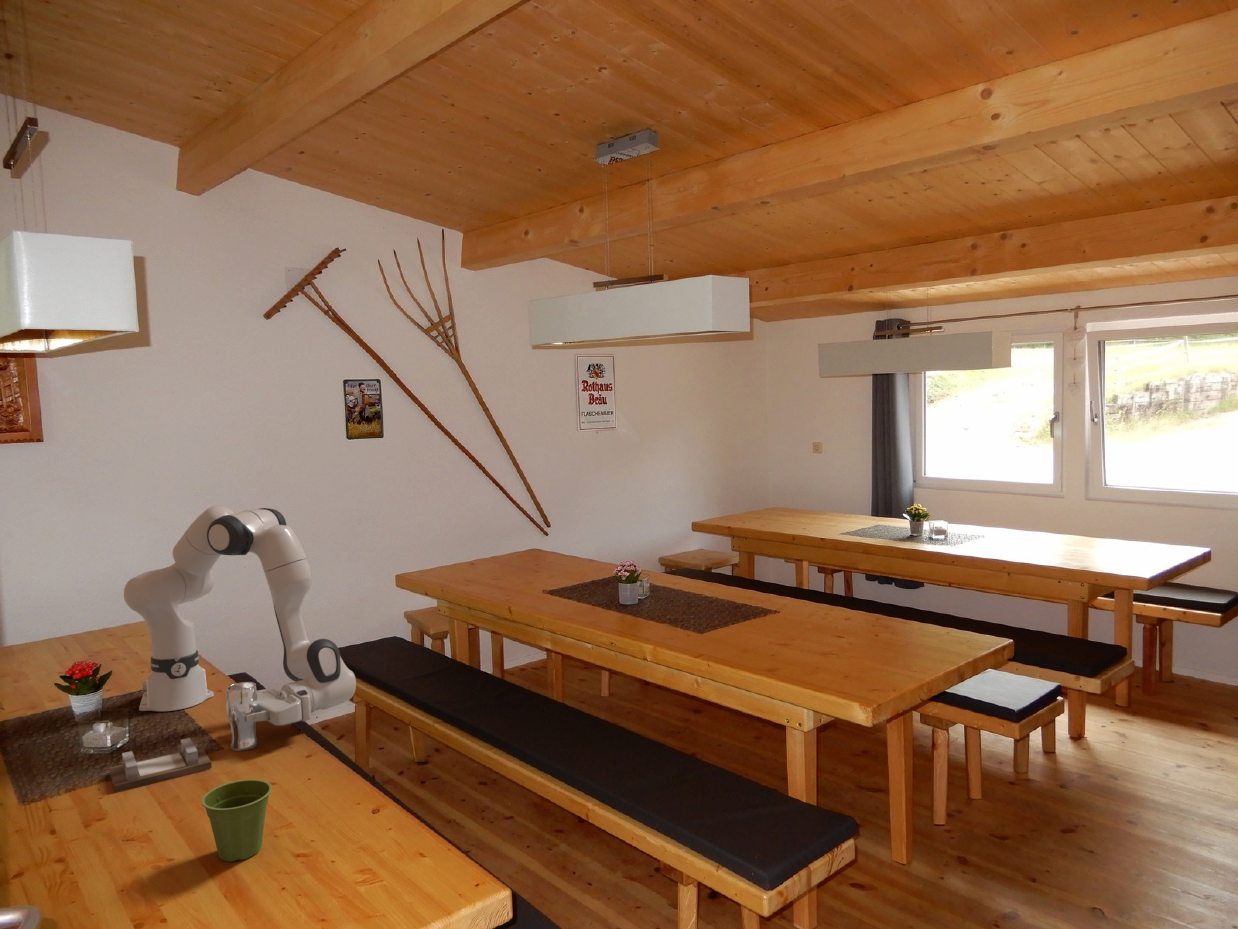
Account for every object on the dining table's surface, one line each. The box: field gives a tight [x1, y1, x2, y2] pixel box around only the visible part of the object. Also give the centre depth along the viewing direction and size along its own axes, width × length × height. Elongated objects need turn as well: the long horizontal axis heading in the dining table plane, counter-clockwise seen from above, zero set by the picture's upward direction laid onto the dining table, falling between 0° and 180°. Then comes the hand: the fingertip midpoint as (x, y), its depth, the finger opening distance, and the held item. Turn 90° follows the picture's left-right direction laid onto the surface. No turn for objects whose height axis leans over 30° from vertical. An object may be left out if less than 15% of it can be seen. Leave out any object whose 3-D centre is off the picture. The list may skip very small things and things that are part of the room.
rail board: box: [108, 737, 212, 793], centre depth 188 cm, size 12×19×4 cm, turn 126°
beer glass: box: [225, 681, 259, 752], centre depth 201 cm, size 7×7×15 cm
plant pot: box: [200, 778, 273, 862], centre depth 152 cm, size 12×12×11 cm
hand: (238, 715), depth 201 cm, fingers closed on beer glass, 6 cm apart
